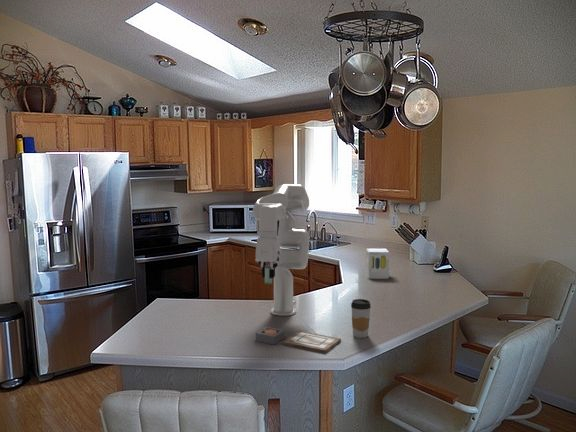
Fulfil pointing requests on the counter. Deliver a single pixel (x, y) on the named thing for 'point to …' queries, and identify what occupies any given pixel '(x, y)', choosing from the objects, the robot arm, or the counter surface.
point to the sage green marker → (267, 274)
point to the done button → (270, 331)
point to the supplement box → (377, 263)
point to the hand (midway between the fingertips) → (268, 276)
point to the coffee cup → (360, 317)
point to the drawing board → (312, 341)
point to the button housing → (270, 336)
